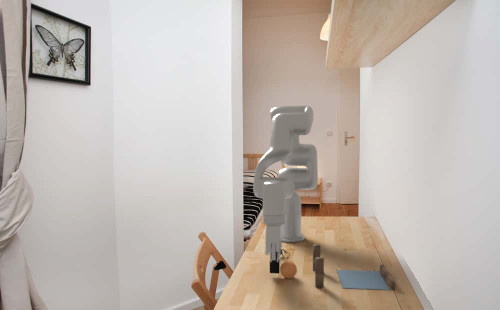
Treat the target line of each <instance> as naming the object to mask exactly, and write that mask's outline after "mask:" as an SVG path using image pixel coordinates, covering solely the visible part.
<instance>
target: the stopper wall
mask: <svg viewBox="0 0 500 310" xmlns="http://www.w3.org/2000/svg"><path fill="white" fill-rule="evenodd" d="M379 266H380V267H379V273H380V274H381V276H382V278H383V279H384V281H385V283H386V284H387V286H388V287H389V289H390V291H395V290H396V282H395V280H394V278H393V277H392V276H391V273H390V272H388V269H387V268H386V267H385V265H384V264H379Z"/></svg>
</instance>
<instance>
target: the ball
mask: <svg viewBox="0 0 500 310" xmlns="http://www.w3.org/2000/svg"><path fill="white" fill-rule="evenodd" d="M297 272H298V268H297V266H296V264H295V263H294V262H293V261H291V260H288V261H287V260H286V261H284V262H283V263H281V264H280V271H279V273H280V274H281V276H282V277H284V278H286V279H292V278H294V277H295V276H296V275H297Z"/></svg>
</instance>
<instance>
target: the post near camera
mask: <svg viewBox="0 0 500 310" xmlns="http://www.w3.org/2000/svg"><path fill="white" fill-rule="evenodd" d="M324 262H325V257H322V256H320V257H316V258H315V272H314V275H315V276H314V279H315V281H314V282H315V283H314V286H315V288H316V289H323V288H324V286H325V284H324V282H325V278H324V277H325V269H324V267H325V266H324V265H325V263H324Z"/></svg>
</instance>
